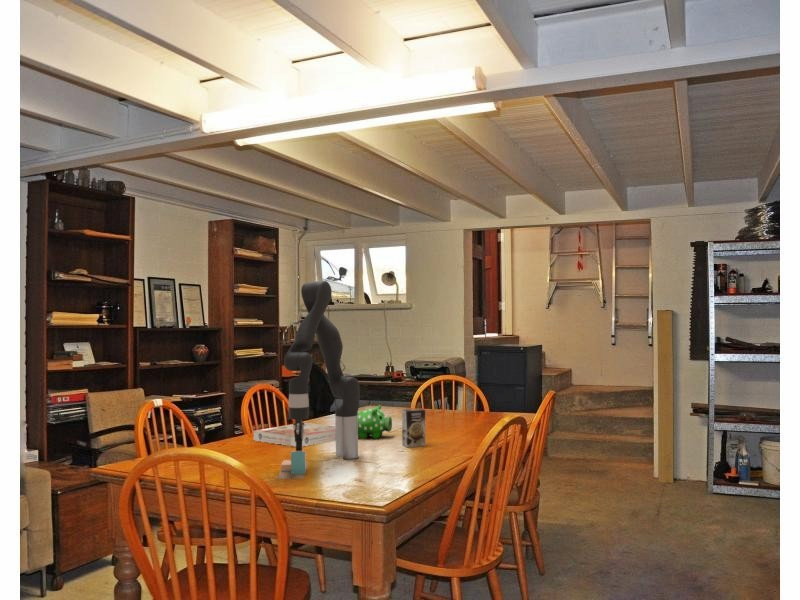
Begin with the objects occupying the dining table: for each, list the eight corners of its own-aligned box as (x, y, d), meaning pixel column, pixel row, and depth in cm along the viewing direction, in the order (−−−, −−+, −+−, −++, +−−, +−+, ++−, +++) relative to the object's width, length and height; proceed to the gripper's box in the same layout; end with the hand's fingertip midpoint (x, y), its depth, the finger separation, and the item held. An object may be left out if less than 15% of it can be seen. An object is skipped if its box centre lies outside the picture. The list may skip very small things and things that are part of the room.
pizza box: (298, 436, 303) (253, 430, 323) (298, 448, 303) (253, 441, 323) (348, 427, 328) (303, 422, 348) (348, 438, 327) (303, 432, 348)
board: (308, 465, 265) (308, 461, 265) (303, 481, 238) (303, 478, 238) (284, 465, 265) (284, 462, 265) (276, 482, 237) (276, 479, 237)
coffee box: (407, 447, 299) (406, 411, 300) (401, 445, 305) (401, 409, 306) (426, 446, 302) (425, 409, 303) (420, 443, 308) (419, 408, 309)
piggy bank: (387, 440, 319) (387, 408, 319) (350, 439, 322) (350, 408, 322) (392, 435, 333) (392, 404, 333) (357, 434, 336) (356, 404, 336)
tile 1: (296, 460, 257) (295, 464, 249) (296, 466, 257) (295, 471, 249) (283, 460, 257) (281, 464, 249) (283, 467, 256) (281, 471, 249)
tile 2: (305, 472, 247) (305, 450, 247) (305, 473, 244) (304, 451, 245) (291, 472, 246) (291, 450, 247) (291, 474, 244) (290, 452, 244)
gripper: (307, 407, 246) (308, 455, 246) (309, 403, 260) (310, 448, 259) (286, 408, 246) (287, 456, 245) (290, 403, 259) (290, 449, 258)
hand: (299, 452), depth 252 cm, fingers closed
